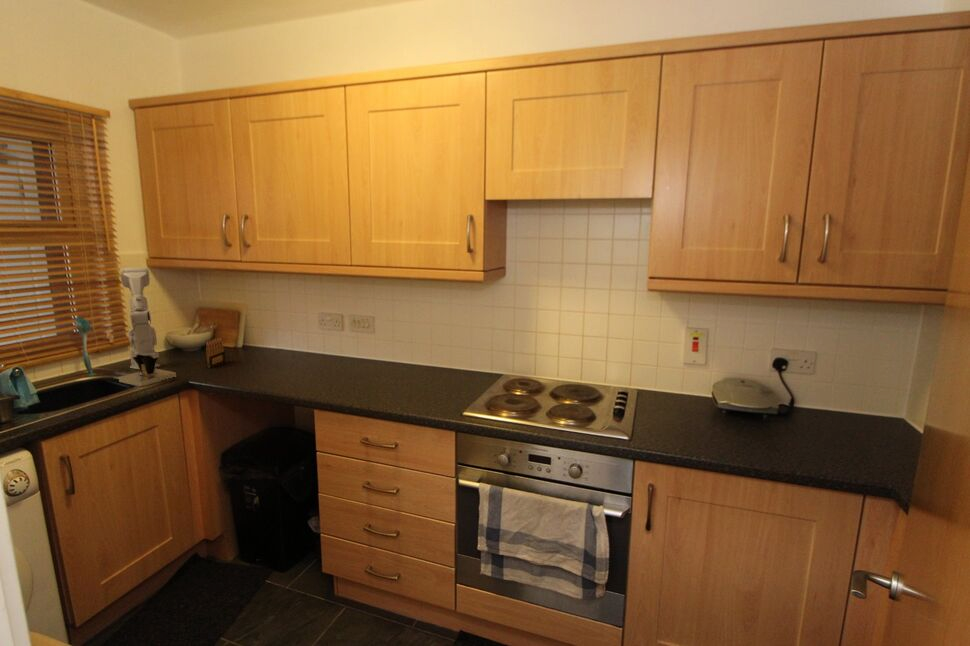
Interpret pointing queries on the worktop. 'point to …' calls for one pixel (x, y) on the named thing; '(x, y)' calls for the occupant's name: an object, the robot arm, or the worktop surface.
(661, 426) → the worktop surface
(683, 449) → the worktop surface
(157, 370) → the plate with square hole
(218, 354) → the ammunition clip
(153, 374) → the wooden block
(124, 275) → the robot arm
